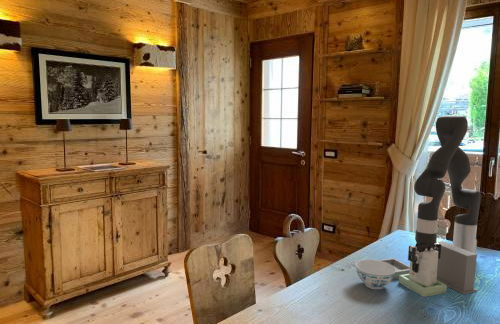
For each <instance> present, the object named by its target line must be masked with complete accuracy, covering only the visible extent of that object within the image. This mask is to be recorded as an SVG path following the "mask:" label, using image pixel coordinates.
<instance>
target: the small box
mask: <svg viewBox="0 0 500 324" xmlns="http://www.w3.org/2000/svg"><path fill="white" fill-rule="evenodd" d="M416 251H417V250H416ZM421 253H423V256H422V259H420V261H419V263H418V264H419V267H418V273H415V272H413V270H412V262H411V261H409V266H410V271H409V279H410V280H411V281H413V282H415V283H418V284H421V285H424V286H426V287H430V286H432V285H434V284H435V283H436V279H437V265H438V251H436V250H433V251H427V252H421ZM421 253H419V251H417V252H416V254H417V255H421ZM411 258H412V256H411ZM417 258H418V257H416V260H417Z"/></svg>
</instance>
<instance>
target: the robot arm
mask: <svg viewBox="0 0 500 324" xmlns="http://www.w3.org/2000/svg"><path fill="white" fill-rule="evenodd" d="M468 123H469V122H468V119H467V118H466V116H464V115H441V116H439V117H437V118H436V120H435V132H436V135H437V138H438V141H439V144H440V147H439V148H437V149H436V151H434V152H433V153H432V155H431V157H430V158H429V160H428V163H427V165H426V168H425V169H424V171H422V173H421V174H420V175H419V176H418V177H417V179H416V180H415V182H414V185H413V187H414V188H413V189H414V192H415V193H416V195H417V196H422V197H429V198H431V200H430V201H423V202H420V203H418V205H417V218H416V221H415V222H416V223H415V236H414V240H415V245H409V246H408V255H407V261H409V262H410V261H411V262H412V270H413V272H415V273H418V267H419V264H418V263H419V261H420V259H422V256H423V253H421V252H427V251H433V250H436V251H438V259H440V255H441V244H439V243H436V242H438V241H437V239H438V226H439V224H438V223H439V221H438V220H439V219H438V217H439V208H440V204H441V201H442V199H443V197H444V194H445V192H446V183H445V182H444V181H443V180H442V179H443V178H445V176H446V174H448V175H447V176H448V178H449V179H448V180H449V182H450V188H451V190H450V191H451V197H452V202H453V205H454V206H455V207H457V208H461V209H467V210H468V212H466V213H462V214H461V213H460V214H456V215H455V216H454V226H453V237H452V239H453V240H452V245H454V246H456V247H459V248H462V249H464V250H467V251H469V252H472V253H475V254H477V245H478V240H477V228H478V221H479V220H478V219H479V213H480V206H481V199H482V194H481V192H480V191H479V190H477V189H472V188H471V189H470V188H463V187H462V185H463V184H462V183H464V181H465V180H466V179H467V178H468V176H469V175H470V173H471V170H472V169H471V163H470V158H469V156H468V154H467V153H466V151H464V150H463V149H462V148H461V147H460V145H461V144H462V142H463V140H464V138H465V137H466V134H467V133H468V132H467V131H468V127H469V124H468ZM416 250H417V251H419V253H421V255H417V254H416V252H417V251H416ZM411 256H412V258H411ZM416 257H418V258H417V260H416Z"/></svg>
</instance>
